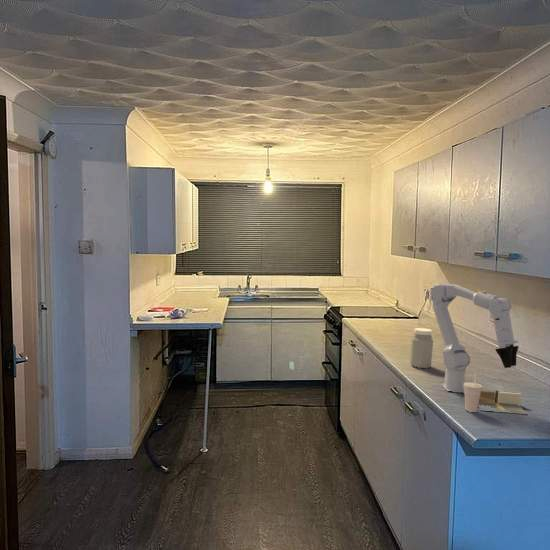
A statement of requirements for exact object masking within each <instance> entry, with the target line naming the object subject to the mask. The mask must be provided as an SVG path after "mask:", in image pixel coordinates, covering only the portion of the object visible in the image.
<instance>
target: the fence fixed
mask: <svg viewBox="0 0 550 550" xmlns="http://www.w3.org/2000/svg"><path fill="white" fill-rule="evenodd" d="M498 394H499V390H495V391H487V390H481V393H480V398H479V402H489V403H494V399H495V403H497V402H498Z"/></svg>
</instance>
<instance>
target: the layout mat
mask: <svg viewBox="0 0 550 550" xmlns="http://www.w3.org/2000/svg"><path fill="white" fill-rule="evenodd" d="M482 405H484V406H487V405H488V406H491V408H497V407H498V408H499V409H500V410H503V411H504V410H505V409H506V410H510V412H511V413H517V414H516V415H522V414H528V412H526V411H525V409H524V408H522V406H520V404H508V403H498V402H497V403H495V399H494V403H489V402H478V407H479V406H482ZM478 407H477V408H478ZM506 410H505V411H506ZM510 412H509V413H508V412H507V413H506V414H510Z"/></svg>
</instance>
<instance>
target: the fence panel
mask: <svg viewBox="0 0 550 550" xmlns="http://www.w3.org/2000/svg"><path fill="white" fill-rule="evenodd" d="M498 403H508V404H518V405H519V406H520V405H521V404H522V393H520V392H506V391H498Z"/></svg>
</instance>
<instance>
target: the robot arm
mask: <svg viewBox="0 0 550 550" xmlns="http://www.w3.org/2000/svg"><path fill="white" fill-rule="evenodd" d="M430 295H431V298H432V308H433V312H434V315H435V318H436V322H437V324H438V327H439V330H440V333H441V337H442V339H443V342H444V346H445V348H444V350H443V351H442V355H443V363H444V366H445V372H444V382H443V383H441V385H442V387H443V388H444V390H445V389H446V390H445V391H446V392H448V391H452V392H451V393H461V392H462V393H464V394H465V391H464V383H466V381H465V380H466V370H467V367H468V366H469V365H470V364H471V356H470V353H468V352H467V351H466V348H465V347H464V346H463V344H461V343H460V342H459V338H458V336H457V333H456V329H455V327H454V324H453V320H452V318H451V314H450V312H449V309H448V307H449V305H450V304H451V303H452V302H453V301H454V300H455V299H456V298H457V297H461V298H465V299H468V300H471V301H473V304H474V305H476V306H478V307H480V308H483V309H484V310H485V309H486V310H487V311H488V312H489V313H491V318H493V324H494V325H493V326H494V329H495V335H496V341H497V342H496V344H497V345H498V348H495V351H496V354H497V355H498V356H499V357H500V361H501V363H502V365H503V368H504V369H509V368H510V369H511V368H512V367H514V366H515V367H516V366H517V354H518V350H519V345H515V344H517V343H519V340H515V338H514V332H513V327H512V321H511V316H510V310H511V308H512V304H511V303H512V302H510V300H509V299H508V298H506V297H500V298H499V297H498V295H496V294H490V293H488V292H487V290H480V291H477V292H475V291H473V290H470V289H469V288H466V287H464V286H461V285H459V284H455V283H436V284H434V286H432V289H431V291H430Z"/></svg>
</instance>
